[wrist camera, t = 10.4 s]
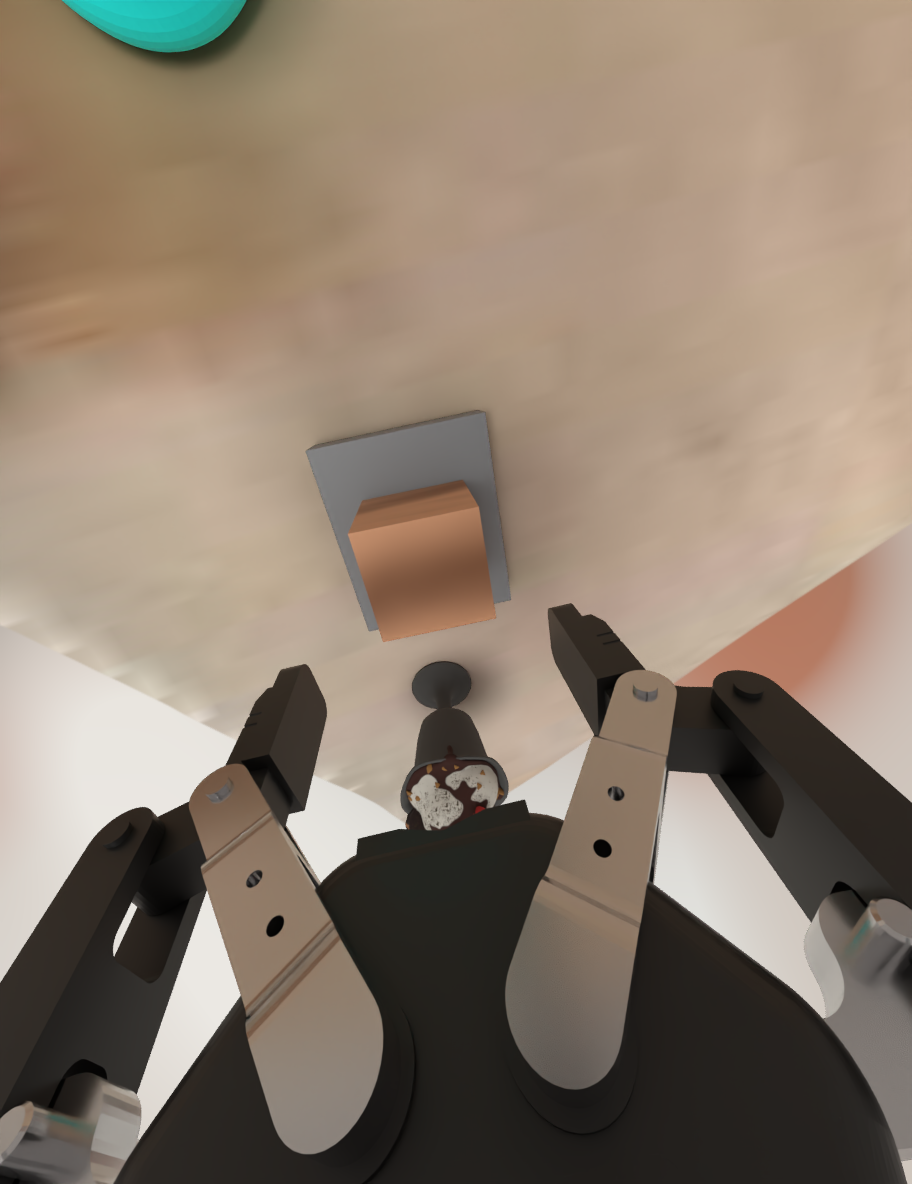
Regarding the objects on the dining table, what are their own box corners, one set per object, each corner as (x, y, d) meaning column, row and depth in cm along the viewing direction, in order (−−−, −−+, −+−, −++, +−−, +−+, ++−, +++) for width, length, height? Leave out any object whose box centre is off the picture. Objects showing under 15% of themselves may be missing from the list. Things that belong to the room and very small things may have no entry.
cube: (362, 500, 23) (347, 533, 18) (462, 479, 23) (478, 506, 18) (388, 590, 26) (383, 642, 20) (478, 571, 26) (496, 618, 21)
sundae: (482, 649, 32) (537, 834, 19) (479, 712, 35) (524, 909, 22) (399, 654, 31) (395, 850, 18) (403, 717, 34) (402, 925, 21)
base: (316, 444, 24) (305, 450, 21) (476, 409, 24) (485, 412, 22) (372, 609, 30) (369, 631, 27) (501, 581, 30) (511, 599, 27)
